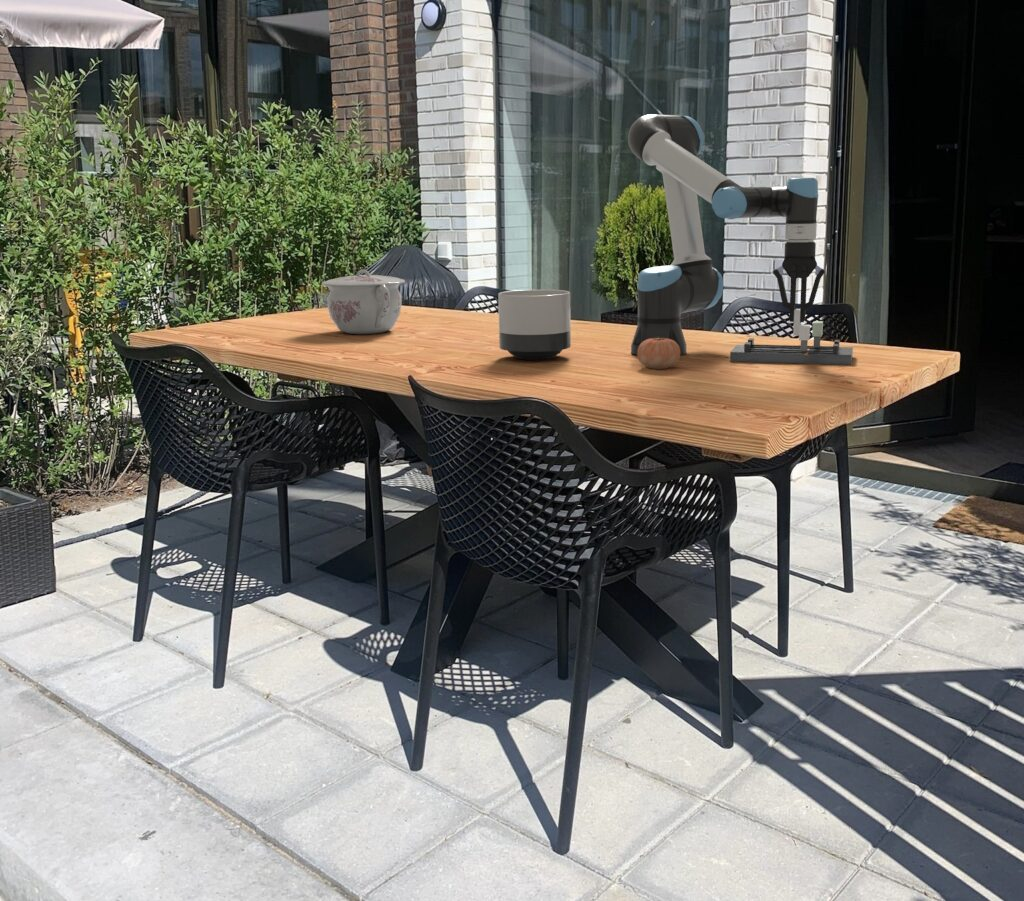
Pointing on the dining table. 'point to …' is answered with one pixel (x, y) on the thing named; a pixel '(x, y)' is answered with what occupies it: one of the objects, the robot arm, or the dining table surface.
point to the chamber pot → (364, 302)
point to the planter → (534, 323)
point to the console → (792, 354)
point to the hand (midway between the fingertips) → (796, 334)
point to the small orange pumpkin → (658, 353)
